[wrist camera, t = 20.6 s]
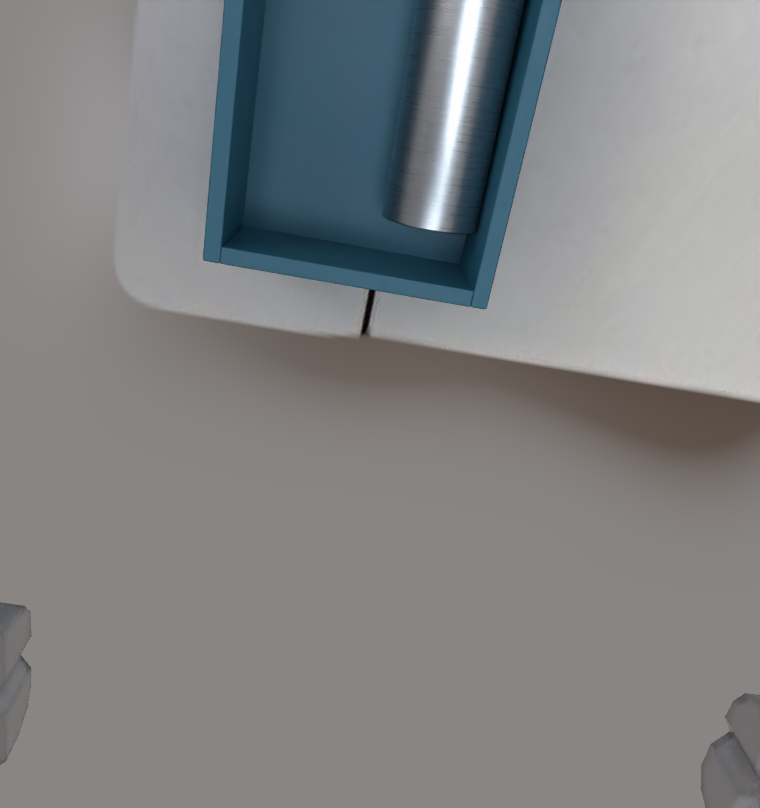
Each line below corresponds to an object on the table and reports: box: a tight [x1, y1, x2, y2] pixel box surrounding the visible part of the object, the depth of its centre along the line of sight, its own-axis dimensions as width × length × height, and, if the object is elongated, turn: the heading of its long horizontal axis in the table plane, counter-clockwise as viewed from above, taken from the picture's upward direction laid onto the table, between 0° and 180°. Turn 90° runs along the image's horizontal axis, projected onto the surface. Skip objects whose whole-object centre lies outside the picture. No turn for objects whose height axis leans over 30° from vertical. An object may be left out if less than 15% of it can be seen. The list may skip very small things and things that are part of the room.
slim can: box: [382, 0, 525, 234], centre depth 33 cm, size 18×5×5 cm
